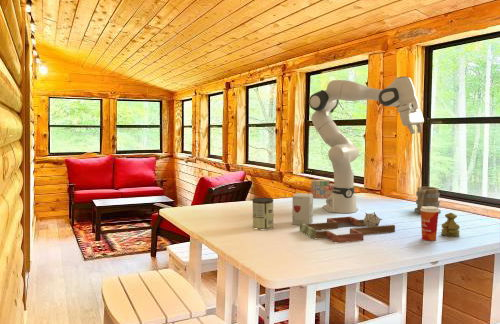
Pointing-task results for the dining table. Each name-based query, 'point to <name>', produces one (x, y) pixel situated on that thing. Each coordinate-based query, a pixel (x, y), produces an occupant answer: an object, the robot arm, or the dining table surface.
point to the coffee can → (263, 213)
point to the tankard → (427, 198)
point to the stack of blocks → (321, 189)
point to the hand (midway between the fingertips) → (416, 133)
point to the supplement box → (302, 209)
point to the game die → (371, 220)
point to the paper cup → (429, 222)
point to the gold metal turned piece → (450, 226)
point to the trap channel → (339, 222)
